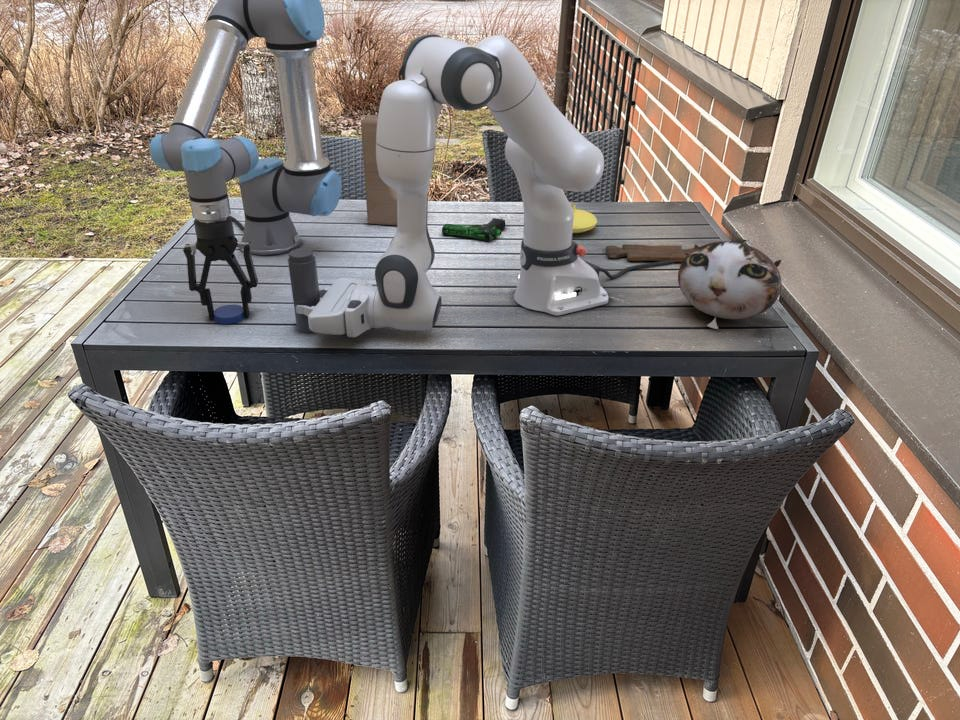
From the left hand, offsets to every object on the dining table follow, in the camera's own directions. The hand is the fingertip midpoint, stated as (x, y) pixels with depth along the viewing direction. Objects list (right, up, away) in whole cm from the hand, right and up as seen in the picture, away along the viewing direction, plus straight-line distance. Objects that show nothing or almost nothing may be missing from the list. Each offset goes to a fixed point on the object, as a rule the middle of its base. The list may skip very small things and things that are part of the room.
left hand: (229, 316), depth 160 cm
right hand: (+18, +3, -6) cm, 19 cm away
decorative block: (+31, +31, +54) cm, 70 cm away
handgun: (+55, +27, +48) cm, 78 cm away
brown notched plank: (+103, +18, +34) cm, 111 cm away
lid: (0, +1, -1) cm, 1 cm away
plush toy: (+112, 0, +4) cm, 112 cm away
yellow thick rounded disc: (+83, +29, +51) cm, 101 cm away
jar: (+19, -3, -3) cm, 19 cm away
